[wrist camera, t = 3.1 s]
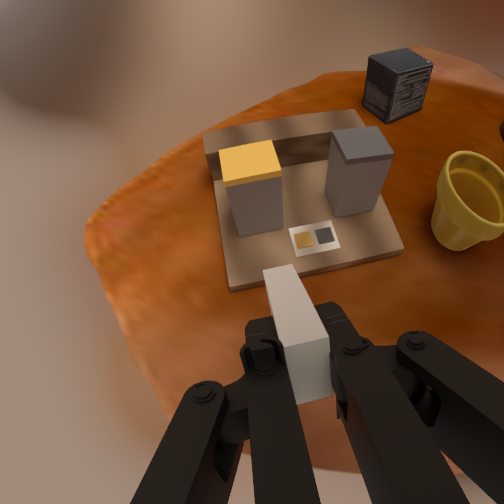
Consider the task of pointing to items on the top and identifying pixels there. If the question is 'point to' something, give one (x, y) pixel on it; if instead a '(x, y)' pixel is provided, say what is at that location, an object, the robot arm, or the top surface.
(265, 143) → the button
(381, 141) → the button
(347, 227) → the console
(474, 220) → the plant pot
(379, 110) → the small box
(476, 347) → the top surface
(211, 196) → the top surface
